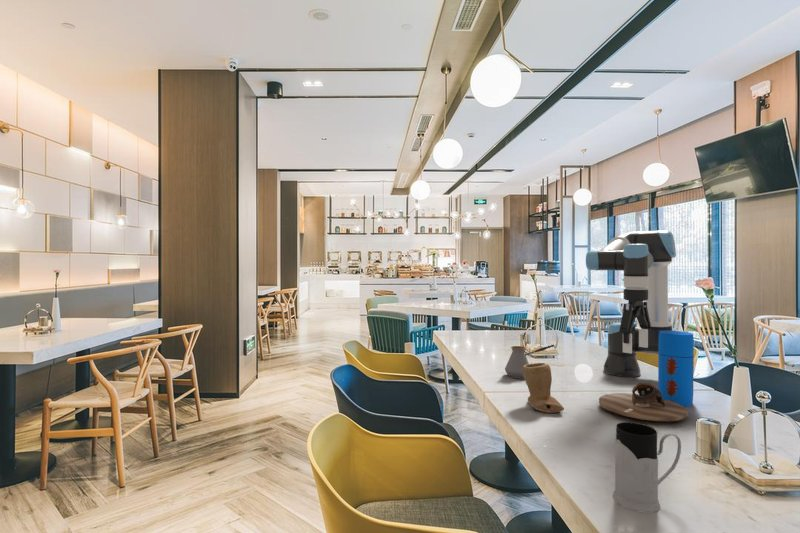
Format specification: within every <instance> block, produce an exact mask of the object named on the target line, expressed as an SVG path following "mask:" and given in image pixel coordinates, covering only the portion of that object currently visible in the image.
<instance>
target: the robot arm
mask: <svg viewBox="0 0 800 533" xmlns="http://www.w3.org/2000/svg"><path fill="white" fill-rule="evenodd" d="M676 256H677V252H676V243H675V239H674V234H673V232H671V231H670V230H660V229H659V230H643V231H641V230H640V231H639V230H638V231H630V232H625V233H622V234H621V233H620V234H619V235H617V236H615V237H612V238H611V239H610V240H609V241H608V243H607V245H605V246H604V247H603V248H601V249H600V250H596V249H595V250H589V251H587V252H586V255H585V266H586V268H587V269H588V270H589V271H623V279H622V282H623V300H625V301H628V303H623V311H622V315H621V320H620V322H613V323H611V324H609V325H608V326H607V327H608V328H607V356H606V359H605V362H604V364H603V372H604V373H606V374H607V375H612V376H616V377H625V378H626V377H628V378H630V377H631V378H633V377H635V378H636V377H639V376H641V367H640V365H639V362H638V359H637V353H643V354H653V355H658V348H659V331H677V329H676V328H673V324H672V323H671V321H669V303H668V302H669V301H668V299H669V298H668V296H669V291H668V290H669V289H668V288H669V284H668V283H669V282H668V281H669V279H668V278H669V276H668V274H669V270H668V267H669V265H670V264H671V263H672V261H673V259H674V258H676ZM636 319H637V322H638V324H637V322H636V321H635V320H636Z"/></svg>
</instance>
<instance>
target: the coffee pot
mask: <svg viewBox="0 0 800 533" xmlns="http://www.w3.org/2000/svg"><path fill="white" fill-rule="evenodd" d="M510 348H511V350H512V351H511V354H510V356H509V359H508V361H507V363H506V366H505V367H504V370H505V373H506V374H507V375H508V376H509V377H511V378H514V379H524V375H523V366H524V365H526V364H530V363H529V361H528V357H527V356H529V355H532V354H535V353H539V352H542V351H545V350H548V349H551V348H554V349H556V347H555V344H551V345H548V346H542V347H540V348H538V349H536V350H532V351H530V352H526V353H525V350H526V349H527V348H526V346H522V345H521V346H520V345H513V346H512V345H511V347H510Z"/></svg>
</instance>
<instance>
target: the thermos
mask: <svg viewBox="0 0 800 533" xmlns="http://www.w3.org/2000/svg"><path fill="white" fill-rule="evenodd" d="M694 340H695V339H694V334H693V332H689V331H688V332H687V331H682V330H680V331H679V330H676V331H659V348H658V354H657V356H658V359H657V361H658V362H657V363H658V364H657V366H658V368H657V370H658V372H657V374H658V375H657V376H658V378H657V381H658V382H657V383H658V384H657V389H658V390H659V391H660V392H661V395H662V399H666V400H669V401H672V402H675V403H677V404H680V405H681V406H683V407H691V406H692V405H693V402H694V364H695V363H694V362H695V360H694V358H695V357H694V354H695V353H694V351H695V350H694V349H695V348H694V347H695V346H694V344H695V343H694V342H695V341H694Z"/></svg>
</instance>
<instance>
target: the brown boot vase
mask: <svg viewBox="0 0 800 533" xmlns="http://www.w3.org/2000/svg"><path fill="white" fill-rule="evenodd" d="M523 375H524V378H523V379H524V381H525V383H526V385H527V388H528V392H529V396H528V397H527V401H528V402H529V404H530V405H531V406H532V407H533V408H534V409H535V410H537V411H540V412H543V413H547V414H554V413H560V412H563V411H564V410H565V407H564V406H563V405H562V404H561V403H560V402H559V401H558V399H556V398H555V397H554V396H552V395H551V394H552V393H551V387H552V381H553V378H552V370H551V367H550V365H549V363H545V362H535V363H529V364H526V365H524V366H523Z"/></svg>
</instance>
